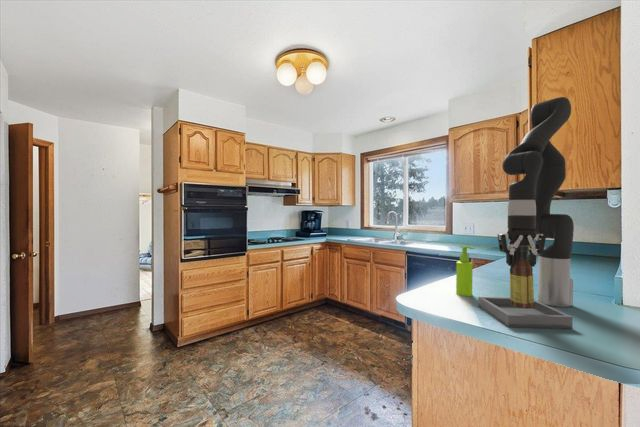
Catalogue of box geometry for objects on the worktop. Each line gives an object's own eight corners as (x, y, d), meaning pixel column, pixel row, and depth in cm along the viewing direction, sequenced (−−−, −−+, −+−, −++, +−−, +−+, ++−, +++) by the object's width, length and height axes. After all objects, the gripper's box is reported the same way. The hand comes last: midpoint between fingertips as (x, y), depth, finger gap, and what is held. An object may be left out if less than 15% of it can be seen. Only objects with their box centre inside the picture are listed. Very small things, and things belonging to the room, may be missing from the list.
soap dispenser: (468, 297, 112) (468, 247, 112) (453, 293, 118) (453, 245, 118) (477, 295, 115) (478, 246, 115) (462, 291, 121) (462, 244, 121)
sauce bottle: (525, 303, 95) (526, 244, 95) (538, 309, 89) (539, 246, 89) (505, 302, 96) (506, 243, 95) (516, 308, 89) (517, 245, 89)
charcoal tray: (530, 307, 101) (530, 298, 101) (572, 328, 83) (572, 317, 83) (478, 306, 102) (478, 296, 102) (508, 327, 84) (508, 315, 84)
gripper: (536, 214, 95) (536, 264, 95) (492, 213, 96) (491, 263, 96) (553, 214, 88) (552, 268, 88) (505, 214, 89) (504, 267, 89)
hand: (520, 265), depth 92 cm, fingers closed on sauce bottle, 6 cm apart
